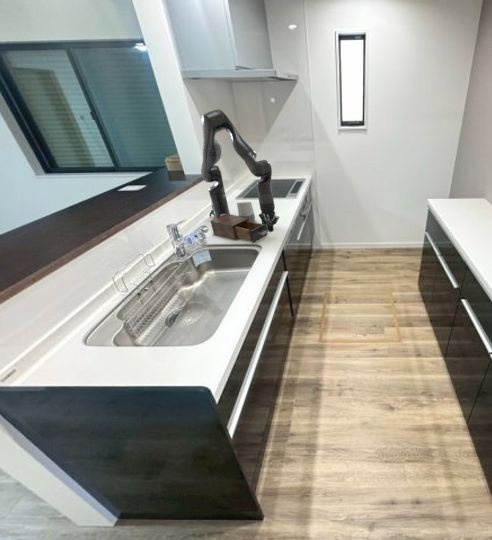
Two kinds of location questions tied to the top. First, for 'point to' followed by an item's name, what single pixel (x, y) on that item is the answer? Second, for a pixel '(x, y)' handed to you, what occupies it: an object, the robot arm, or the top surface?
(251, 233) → the drawer
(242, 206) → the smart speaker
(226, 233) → the cabinet
